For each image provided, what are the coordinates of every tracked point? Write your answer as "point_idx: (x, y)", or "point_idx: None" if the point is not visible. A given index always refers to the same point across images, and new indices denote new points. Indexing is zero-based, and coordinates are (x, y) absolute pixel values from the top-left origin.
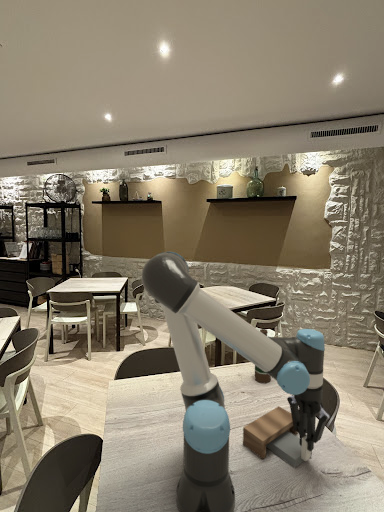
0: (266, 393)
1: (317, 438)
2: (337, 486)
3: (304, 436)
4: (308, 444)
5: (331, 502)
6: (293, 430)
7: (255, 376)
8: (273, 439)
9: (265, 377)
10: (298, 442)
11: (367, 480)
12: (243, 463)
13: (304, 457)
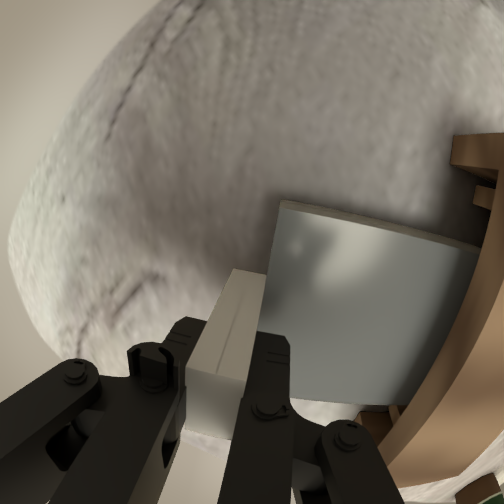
0: (469, 468)
1: (22, 390)
2: (83, 236)
3: (235, 409)
4: (188, 352)
5: (71, 132)
6: (372, 425)
7: (495, 480)
8: (477, 262)
9: (473, 497)
10: (323, 373)
11: (55, 336)
12: (488, 58)
13: (239, 278)
